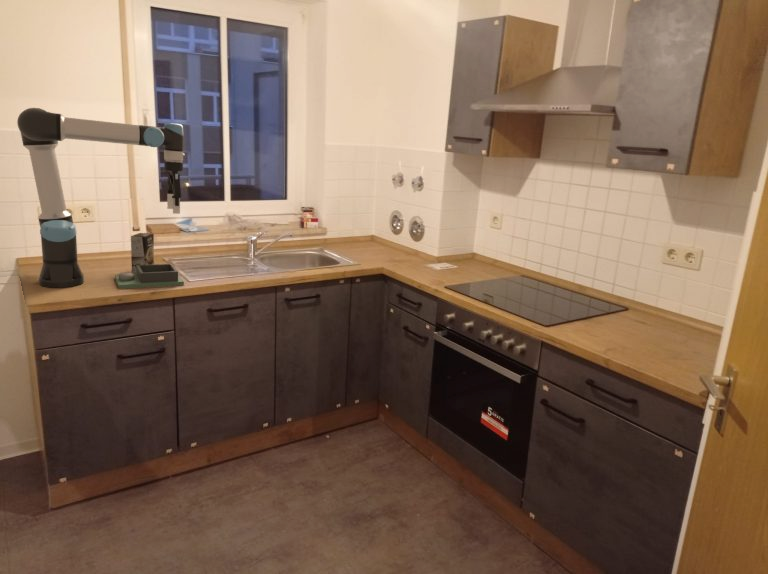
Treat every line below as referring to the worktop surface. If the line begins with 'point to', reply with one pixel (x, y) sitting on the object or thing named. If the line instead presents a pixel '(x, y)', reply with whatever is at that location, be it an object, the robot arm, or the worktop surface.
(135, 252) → the coffee box
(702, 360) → the worktop surface
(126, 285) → the deck
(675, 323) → the worktop surface
